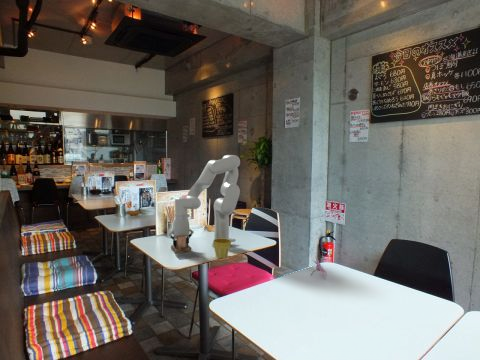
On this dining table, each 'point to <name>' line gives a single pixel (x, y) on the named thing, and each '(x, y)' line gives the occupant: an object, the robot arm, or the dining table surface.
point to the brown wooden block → (181, 242)
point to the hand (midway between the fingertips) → (181, 245)
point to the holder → (182, 250)
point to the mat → (186, 255)
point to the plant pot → (221, 247)
